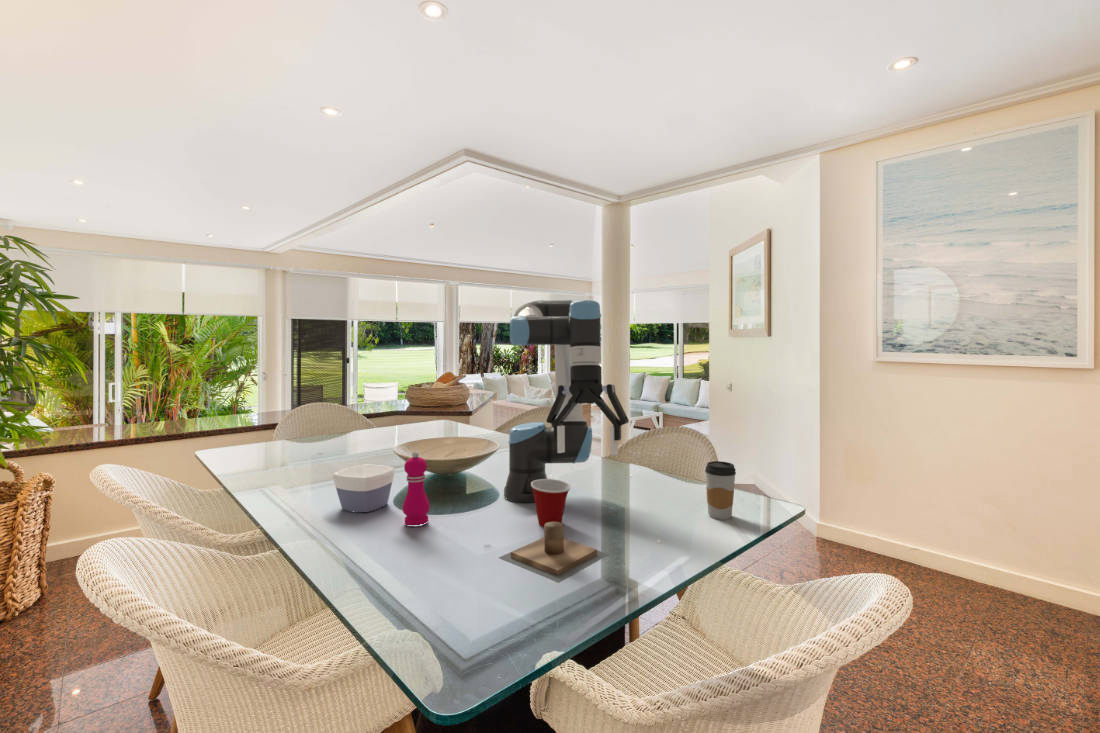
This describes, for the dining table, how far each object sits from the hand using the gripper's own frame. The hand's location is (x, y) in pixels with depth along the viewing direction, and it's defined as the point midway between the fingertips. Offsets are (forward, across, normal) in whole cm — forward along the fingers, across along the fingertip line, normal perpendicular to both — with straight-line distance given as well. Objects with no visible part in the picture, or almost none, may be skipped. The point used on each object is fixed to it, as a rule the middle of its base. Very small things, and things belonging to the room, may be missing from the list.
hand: (587, 453), depth 121 cm
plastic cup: (+22, -15, +11) cm, 29 cm away
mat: (+24, -6, -7) cm, 25 cm away
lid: (+23, -6, -7) cm, 24 cm away
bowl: (+19, -74, +2) cm, 76 cm away
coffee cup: (+21, +24, +40) cm, 51 cm away
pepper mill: (+21, -50, -2) cm, 54 cm away
